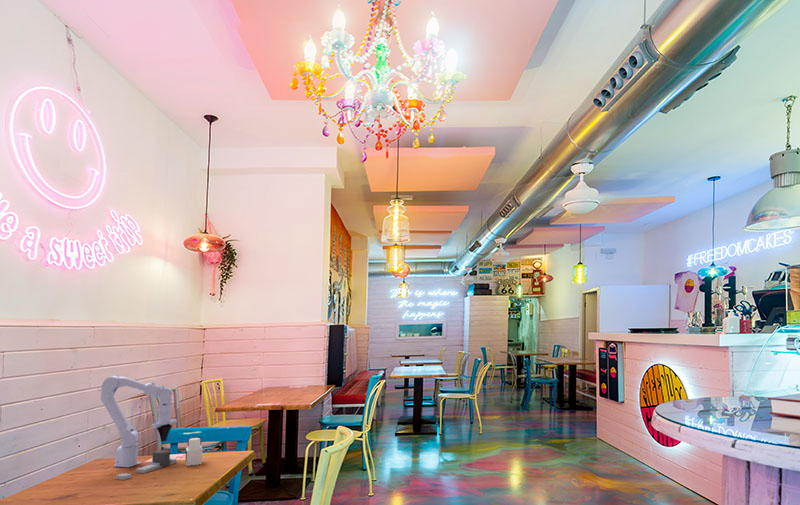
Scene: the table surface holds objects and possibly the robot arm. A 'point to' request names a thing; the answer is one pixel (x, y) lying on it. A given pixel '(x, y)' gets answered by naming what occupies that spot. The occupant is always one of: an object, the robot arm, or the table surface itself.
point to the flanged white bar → (143, 470)
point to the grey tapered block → (161, 457)
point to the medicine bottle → (194, 452)
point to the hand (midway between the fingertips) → (163, 440)
